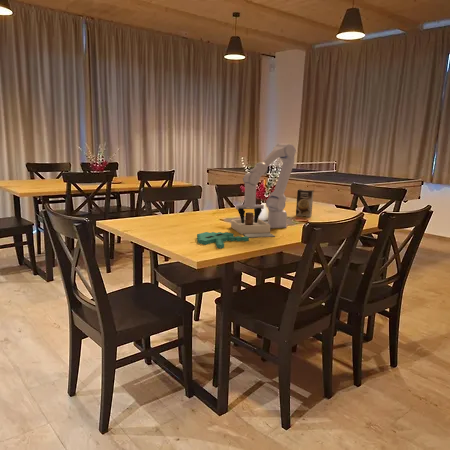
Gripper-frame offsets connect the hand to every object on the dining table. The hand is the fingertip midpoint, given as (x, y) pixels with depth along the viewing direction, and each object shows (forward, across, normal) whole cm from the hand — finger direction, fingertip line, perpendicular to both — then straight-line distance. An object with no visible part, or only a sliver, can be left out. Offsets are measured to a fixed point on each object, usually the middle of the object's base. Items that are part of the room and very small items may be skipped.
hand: (249, 222), depth 211 cm
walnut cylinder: (+1, 0, 0) cm, 1 cm away
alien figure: (+4, -22, -20) cm, 30 cm away
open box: (+3, 0, -2) cm, 4 cm away
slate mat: (+3, 0, -14) cm, 15 cm away
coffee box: (+4, +47, +31) cm, 56 cm away
